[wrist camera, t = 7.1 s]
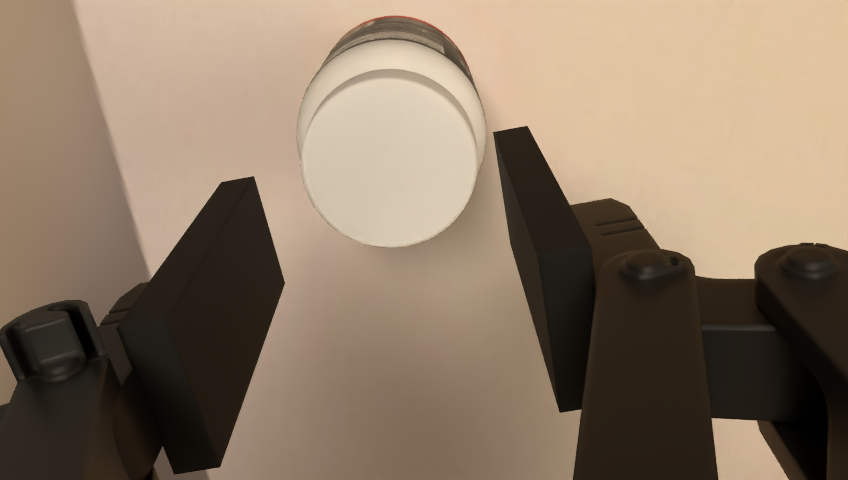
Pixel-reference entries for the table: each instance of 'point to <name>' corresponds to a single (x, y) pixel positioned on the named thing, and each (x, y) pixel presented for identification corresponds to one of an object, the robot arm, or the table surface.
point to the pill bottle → (391, 133)
